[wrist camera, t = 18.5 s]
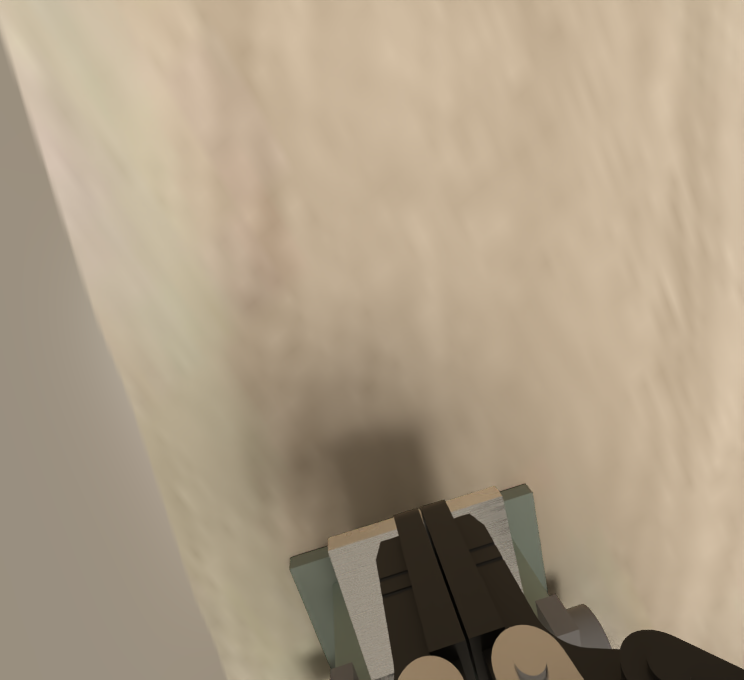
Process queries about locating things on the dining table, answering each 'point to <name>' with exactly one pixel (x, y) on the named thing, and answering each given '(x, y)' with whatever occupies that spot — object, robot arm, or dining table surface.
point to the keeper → (361, 579)
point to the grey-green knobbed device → (565, 624)
